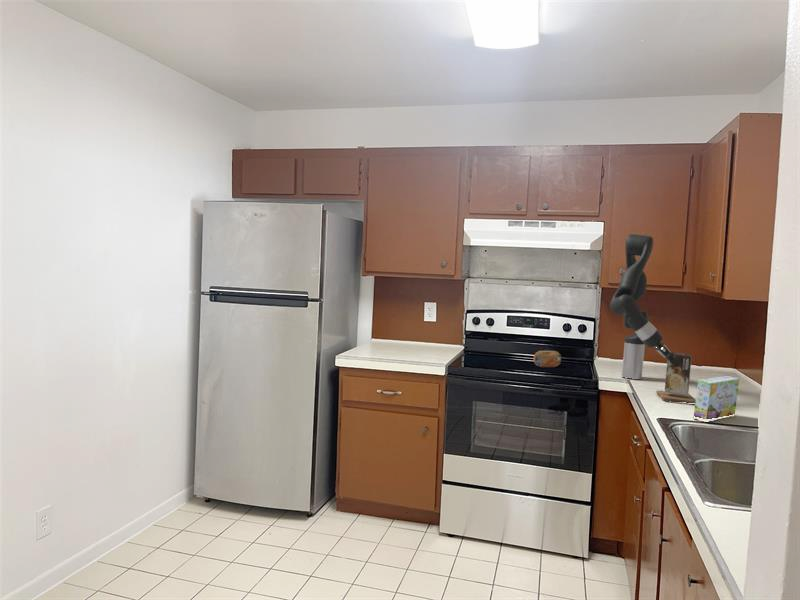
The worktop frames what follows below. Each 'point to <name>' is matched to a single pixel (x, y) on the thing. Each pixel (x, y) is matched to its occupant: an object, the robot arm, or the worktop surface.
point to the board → (675, 397)
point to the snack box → (716, 397)
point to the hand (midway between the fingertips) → (675, 364)
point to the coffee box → (678, 374)
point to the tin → (547, 358)
